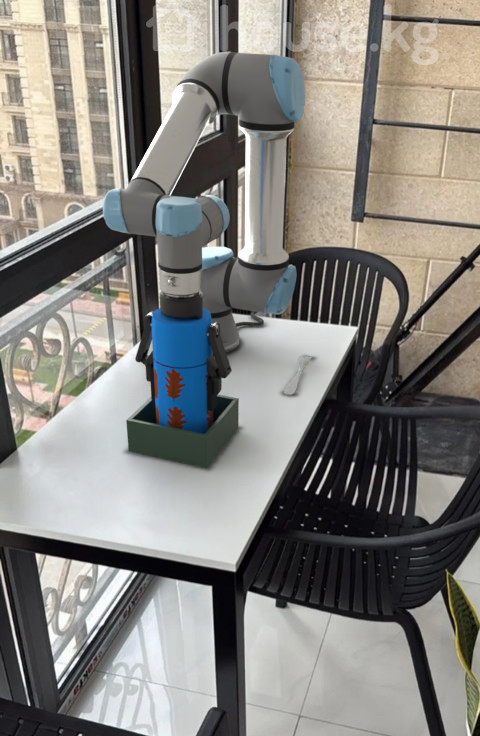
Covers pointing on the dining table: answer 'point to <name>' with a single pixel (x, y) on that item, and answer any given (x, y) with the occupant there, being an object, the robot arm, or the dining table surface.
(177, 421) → the thermos
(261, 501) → the dining table surface
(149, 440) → the box
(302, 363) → the fork
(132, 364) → the dining table surface
